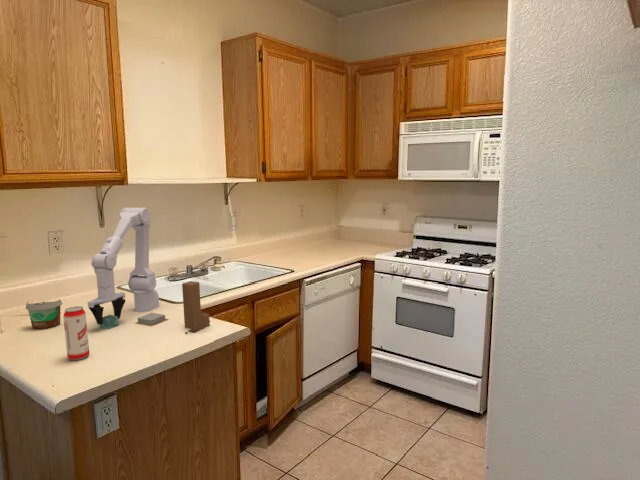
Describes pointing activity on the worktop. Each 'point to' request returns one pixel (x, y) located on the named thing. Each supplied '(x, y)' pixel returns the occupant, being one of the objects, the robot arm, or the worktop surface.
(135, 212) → the robot arm
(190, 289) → the wooden block
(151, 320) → the top slab
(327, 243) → the worktop surface
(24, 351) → the worktop surface
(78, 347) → the beer can
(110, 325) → the block
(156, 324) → the base slab
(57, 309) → the food container
